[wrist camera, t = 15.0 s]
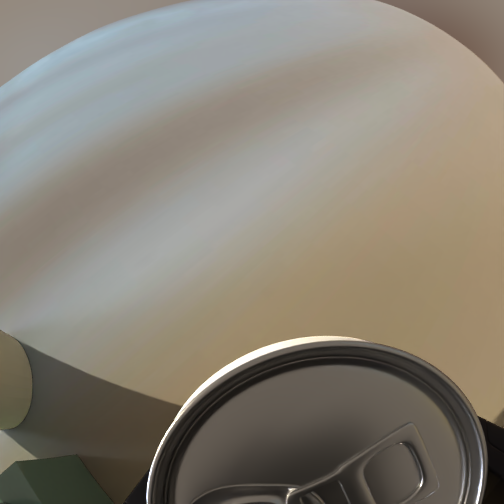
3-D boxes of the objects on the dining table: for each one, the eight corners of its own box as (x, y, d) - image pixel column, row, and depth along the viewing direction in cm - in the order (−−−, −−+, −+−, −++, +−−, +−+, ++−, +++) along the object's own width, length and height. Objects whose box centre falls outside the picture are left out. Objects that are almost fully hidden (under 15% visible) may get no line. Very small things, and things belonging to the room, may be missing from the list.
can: (213, 403, 15) (73, 390, 5) (329, 355, 16) (420, 250, 5) (259, 510, 12) (216, 661, 2) (378, 460, 13) (529, 526, 2)
